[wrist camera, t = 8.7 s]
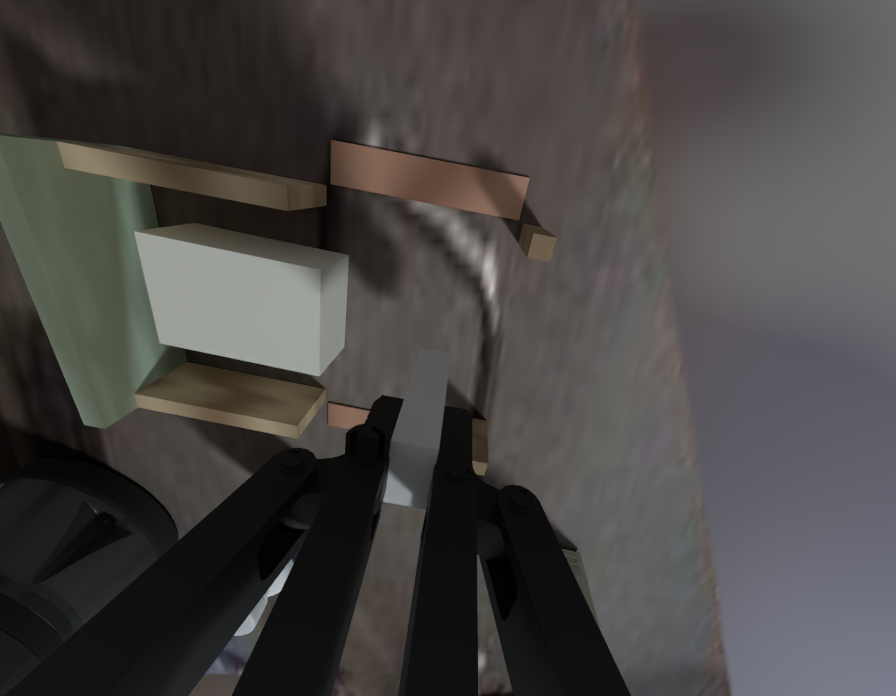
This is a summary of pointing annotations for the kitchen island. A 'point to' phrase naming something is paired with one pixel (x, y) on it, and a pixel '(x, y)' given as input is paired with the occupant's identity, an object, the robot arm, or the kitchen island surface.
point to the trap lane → (123, 283)
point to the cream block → (245, 296)
